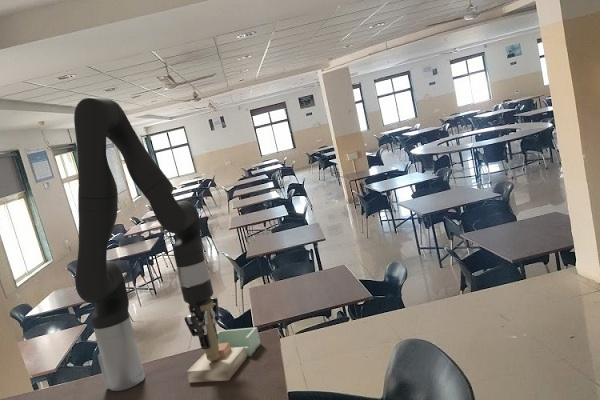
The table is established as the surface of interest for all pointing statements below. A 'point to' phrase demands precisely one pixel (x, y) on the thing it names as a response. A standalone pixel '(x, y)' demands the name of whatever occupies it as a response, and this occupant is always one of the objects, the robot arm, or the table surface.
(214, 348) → the handle
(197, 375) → the cream flat slab
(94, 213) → the robot arm
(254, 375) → the table surface
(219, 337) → the box
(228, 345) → the tile
